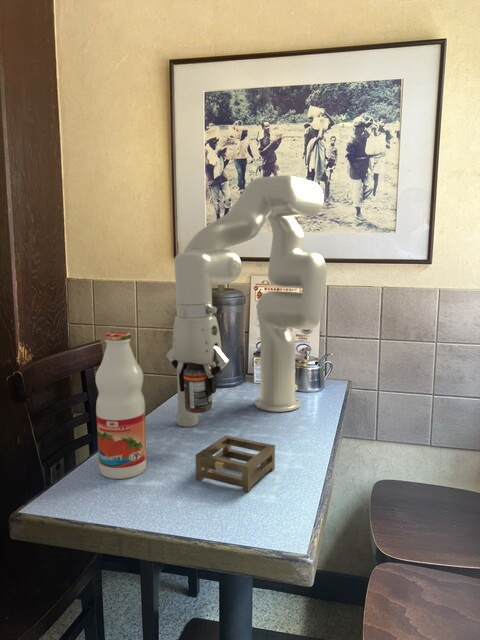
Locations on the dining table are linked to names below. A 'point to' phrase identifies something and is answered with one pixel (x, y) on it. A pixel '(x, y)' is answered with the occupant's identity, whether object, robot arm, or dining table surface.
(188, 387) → the supplement bottle
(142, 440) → the fruit juice
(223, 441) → the collar stand
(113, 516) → the dining table surface
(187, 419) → the pipe
